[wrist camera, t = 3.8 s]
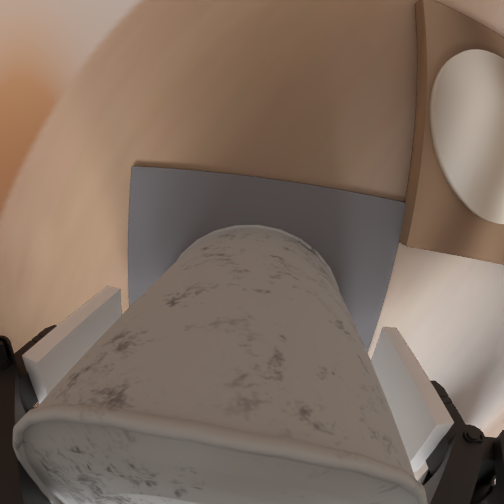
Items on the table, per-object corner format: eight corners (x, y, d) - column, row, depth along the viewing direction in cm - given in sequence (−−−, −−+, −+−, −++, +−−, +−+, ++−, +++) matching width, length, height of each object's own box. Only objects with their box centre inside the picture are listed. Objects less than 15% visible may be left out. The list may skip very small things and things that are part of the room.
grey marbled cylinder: (308, 195, 14) (441, 324, 2) (357, 356, 16) (417, 551, 4) (136, 261, 16) (-40, 404, 4) (208, 395, 18) (156, 569, 6)
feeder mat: (137, 383, 18) (136, 384, 18) (133, 166, 15) (131, 166, 14) (341, 413, 18) (342, 415, 18) (405, 202, 14) (406, 203, 14)
